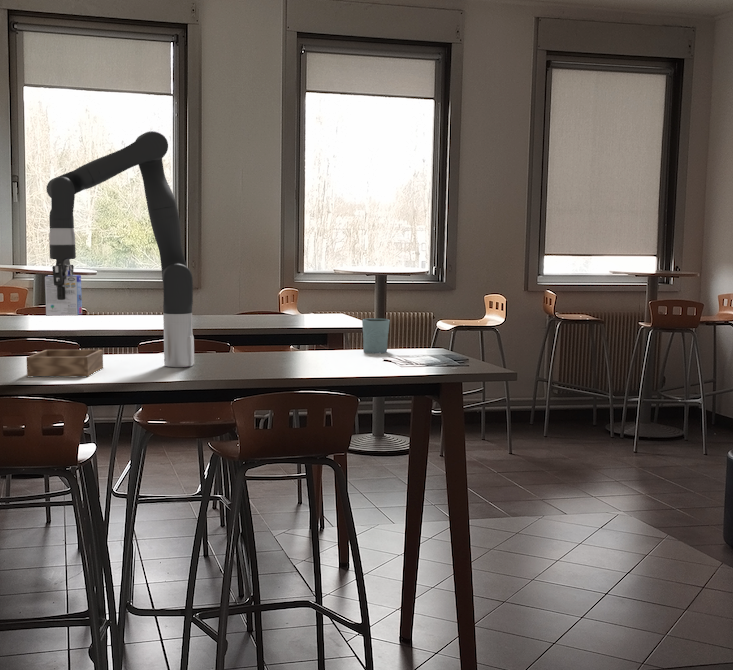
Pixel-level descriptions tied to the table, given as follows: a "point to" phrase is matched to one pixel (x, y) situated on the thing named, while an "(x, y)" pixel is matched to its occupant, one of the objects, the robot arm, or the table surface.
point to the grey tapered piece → (375, 335)
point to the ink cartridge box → (72, 296)
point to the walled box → (65, 363)
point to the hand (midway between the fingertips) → (64, 298)
